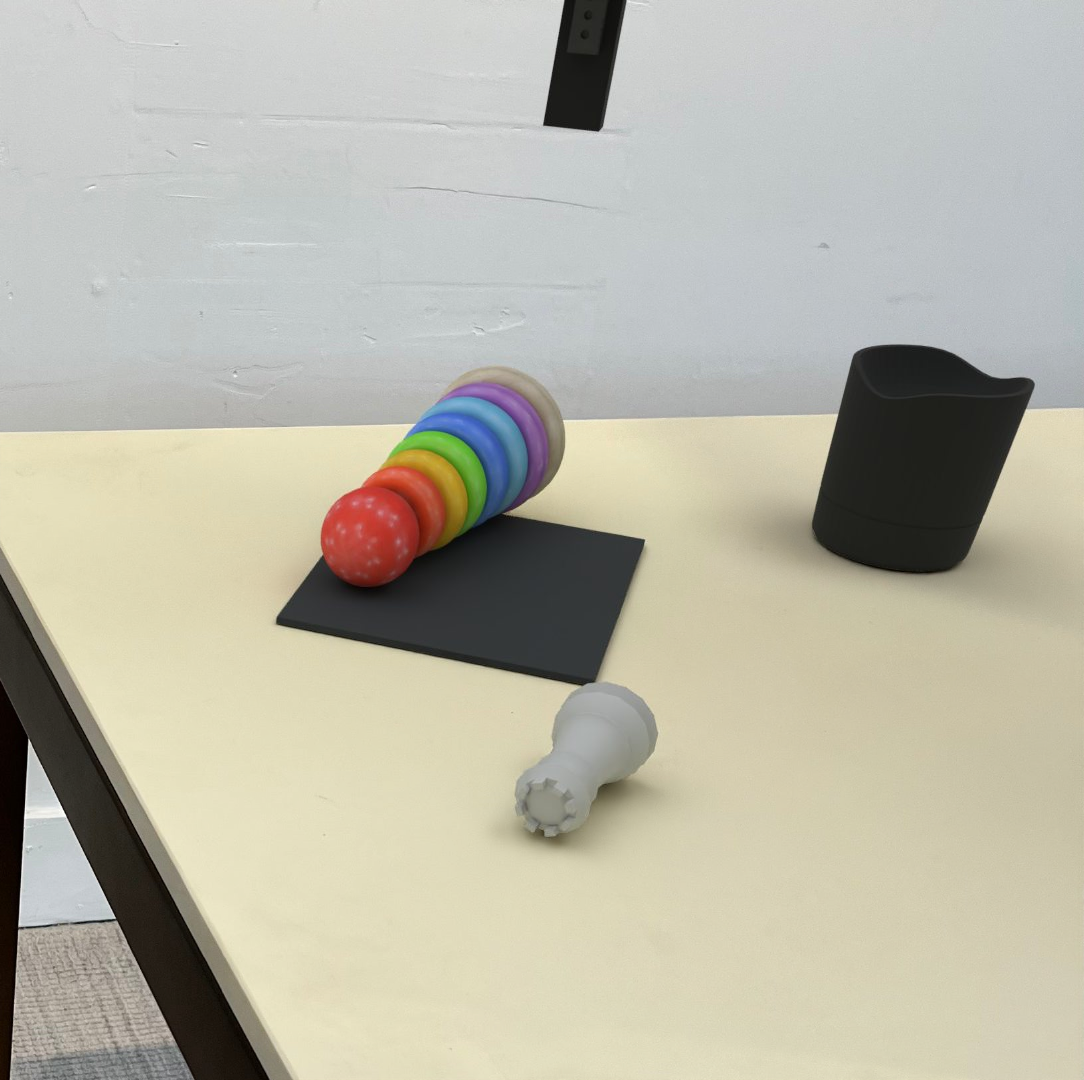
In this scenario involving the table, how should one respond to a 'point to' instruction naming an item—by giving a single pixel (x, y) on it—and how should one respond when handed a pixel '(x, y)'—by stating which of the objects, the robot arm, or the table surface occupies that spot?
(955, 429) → the pen holder
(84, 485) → the table surface
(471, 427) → the stacking toy
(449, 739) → the table surface
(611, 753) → the rook chess piece
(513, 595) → the felt mat
